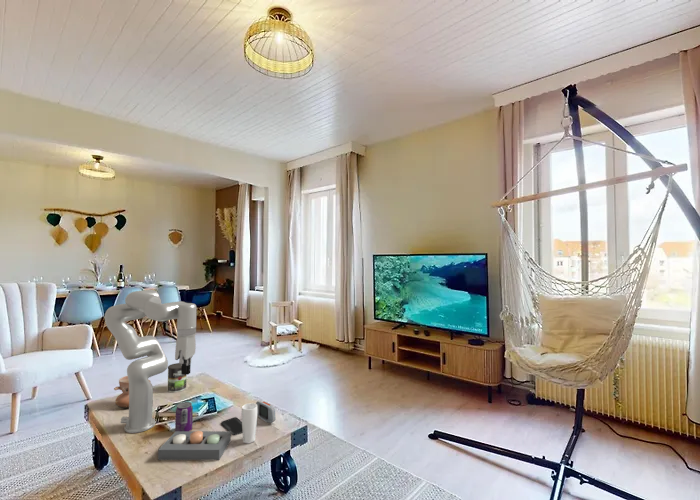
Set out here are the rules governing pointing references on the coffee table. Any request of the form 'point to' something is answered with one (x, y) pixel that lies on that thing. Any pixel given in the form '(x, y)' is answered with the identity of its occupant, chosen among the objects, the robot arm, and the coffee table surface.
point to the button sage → (213, 439)
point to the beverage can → (184, 417)
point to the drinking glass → (249, 422)
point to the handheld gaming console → (265, 411)
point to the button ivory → (179, 439)
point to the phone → (233, 425)
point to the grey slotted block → (194, 447)
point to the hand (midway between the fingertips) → (185, 373)
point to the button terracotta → (196, 437)
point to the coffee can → (176, 378)
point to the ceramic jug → (124, 397)
